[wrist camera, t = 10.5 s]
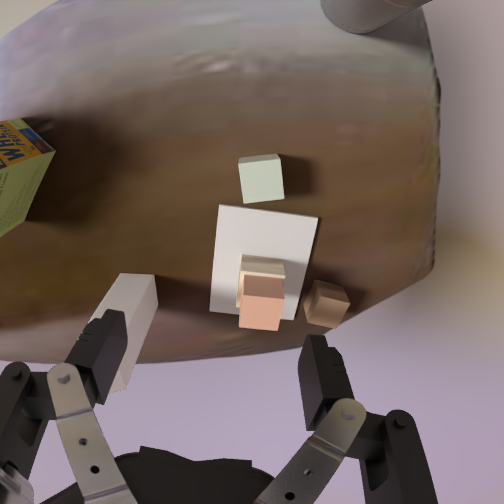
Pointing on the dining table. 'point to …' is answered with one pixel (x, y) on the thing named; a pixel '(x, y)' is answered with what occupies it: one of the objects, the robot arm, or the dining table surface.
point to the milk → (131, 317)
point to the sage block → (261, 178)
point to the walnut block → (326, 304)
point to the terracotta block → (261, 302)
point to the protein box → (20, 170)
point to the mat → (260, 252)
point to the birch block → (258, 270)
